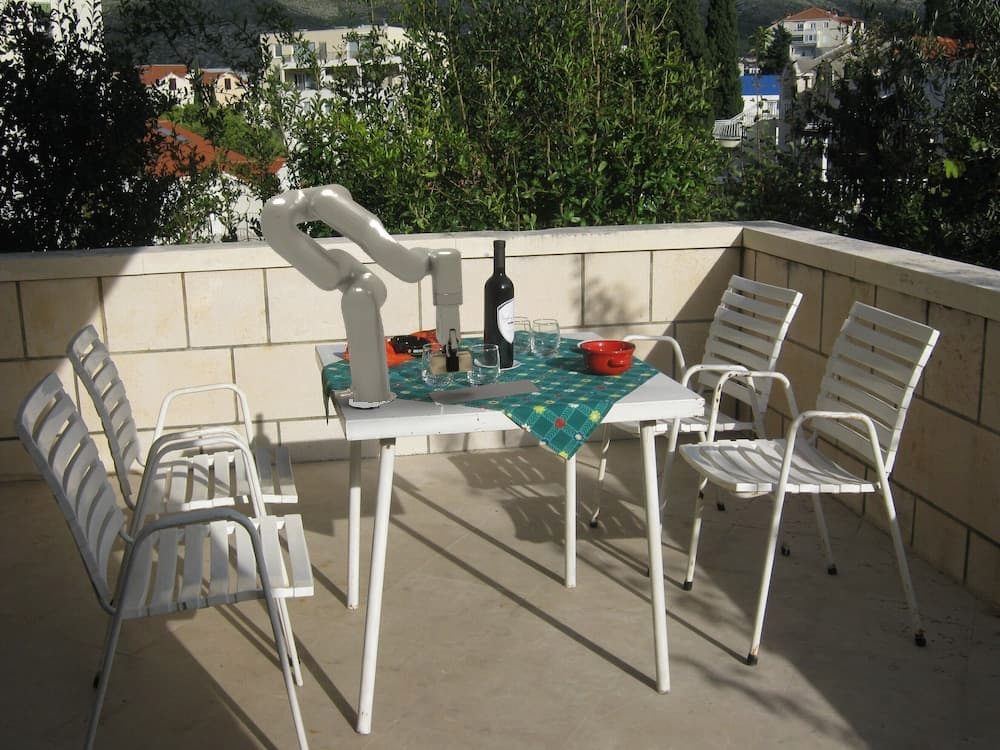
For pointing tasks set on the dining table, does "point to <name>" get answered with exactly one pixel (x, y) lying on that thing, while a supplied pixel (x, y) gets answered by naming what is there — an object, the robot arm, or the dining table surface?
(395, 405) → the dining table surface
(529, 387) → the rubber mat
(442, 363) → the birch tile
